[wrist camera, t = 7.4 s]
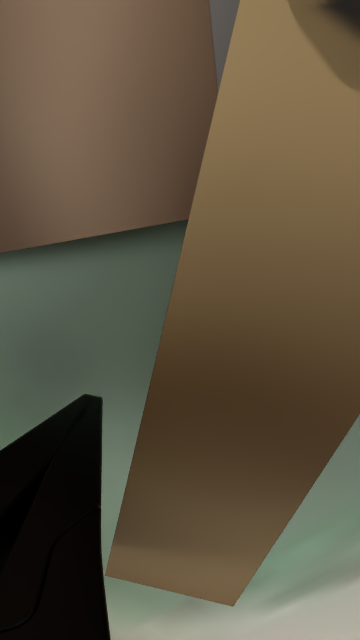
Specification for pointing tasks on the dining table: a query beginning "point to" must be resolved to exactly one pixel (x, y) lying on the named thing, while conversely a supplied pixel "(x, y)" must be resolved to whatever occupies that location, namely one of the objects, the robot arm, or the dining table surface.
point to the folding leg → (255, 311)
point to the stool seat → (104, 113)
